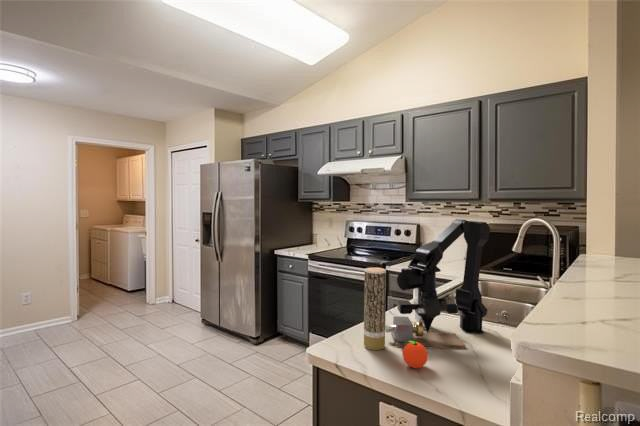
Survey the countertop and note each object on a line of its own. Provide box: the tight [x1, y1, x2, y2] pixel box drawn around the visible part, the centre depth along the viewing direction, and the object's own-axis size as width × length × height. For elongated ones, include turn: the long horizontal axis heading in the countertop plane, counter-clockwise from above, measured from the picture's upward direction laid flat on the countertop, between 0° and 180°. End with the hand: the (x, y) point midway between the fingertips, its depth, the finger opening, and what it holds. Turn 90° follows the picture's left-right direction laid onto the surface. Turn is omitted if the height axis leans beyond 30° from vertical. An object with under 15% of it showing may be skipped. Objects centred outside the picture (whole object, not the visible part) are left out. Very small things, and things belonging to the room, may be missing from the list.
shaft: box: [385, 322, 425, 337], centre depth 116 cm, size 12×5×5 cm, turn 87°
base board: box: [390, 331, 467, 350], centre depth 116 cm, size 22×10×1 cm, turn 87°
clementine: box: [402, 341, 429, 369], centre depth 99 cm, size 8×7×7 cm
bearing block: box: [392, 316, 414, 343], centre depth 116 cm, size 5×8×6 cm, turn 177°
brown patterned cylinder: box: [363, 267, 387, 351], centre depth 111 cm, size 7×7×25 cm
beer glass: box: [412, 288, 426, 330], centre depth 130 cm, size 7×7×15 cm
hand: (427, 332), depth 116 cm, fingers closed
